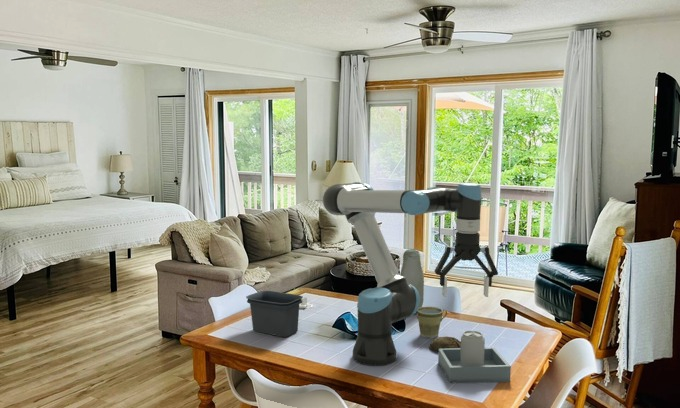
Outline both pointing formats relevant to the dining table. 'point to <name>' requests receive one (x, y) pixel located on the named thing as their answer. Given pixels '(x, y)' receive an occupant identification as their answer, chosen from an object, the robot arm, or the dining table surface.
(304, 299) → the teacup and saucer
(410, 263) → the gray bottle
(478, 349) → the can
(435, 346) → the bread roll
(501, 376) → the tote
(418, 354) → the dining table surface
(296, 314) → the storage bin
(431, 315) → the ceramic cup
